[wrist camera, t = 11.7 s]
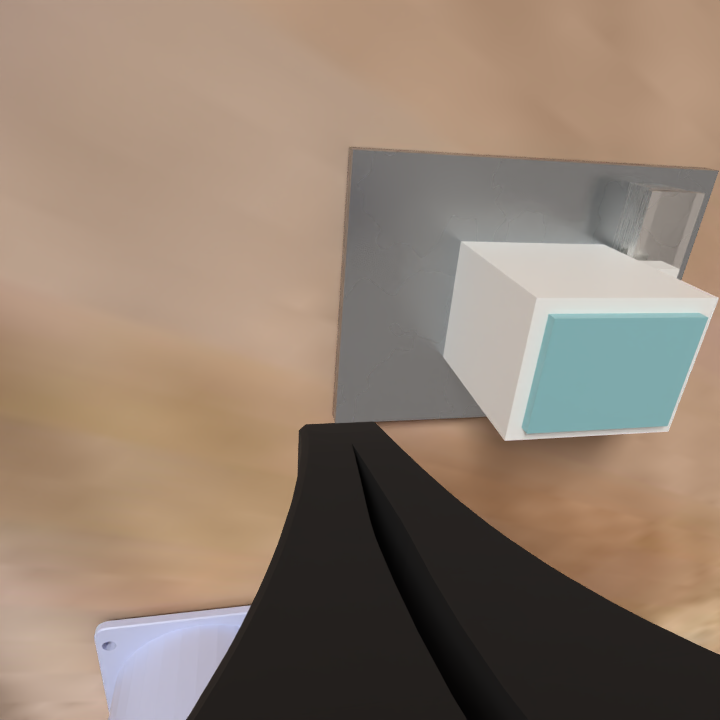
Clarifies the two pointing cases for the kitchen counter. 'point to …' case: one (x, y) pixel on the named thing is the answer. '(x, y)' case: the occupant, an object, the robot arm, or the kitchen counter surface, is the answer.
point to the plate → (453, 258)
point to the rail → (657, 222)
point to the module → (572, 338)
